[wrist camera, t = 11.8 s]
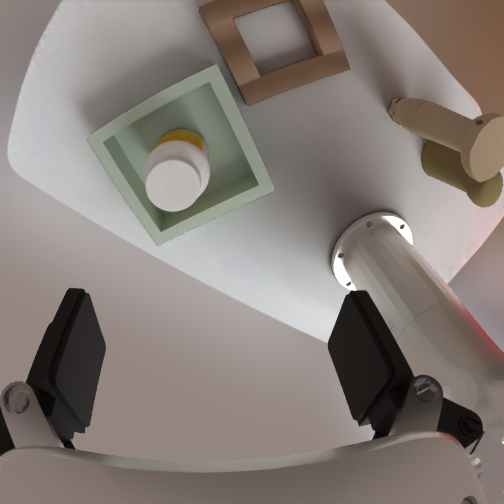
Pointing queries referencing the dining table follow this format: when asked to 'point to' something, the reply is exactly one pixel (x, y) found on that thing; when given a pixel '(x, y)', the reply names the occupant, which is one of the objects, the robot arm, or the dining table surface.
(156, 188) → the supplement bottle
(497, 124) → the handle
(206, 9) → the holder
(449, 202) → the dining table surface
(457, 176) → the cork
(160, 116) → the bin
